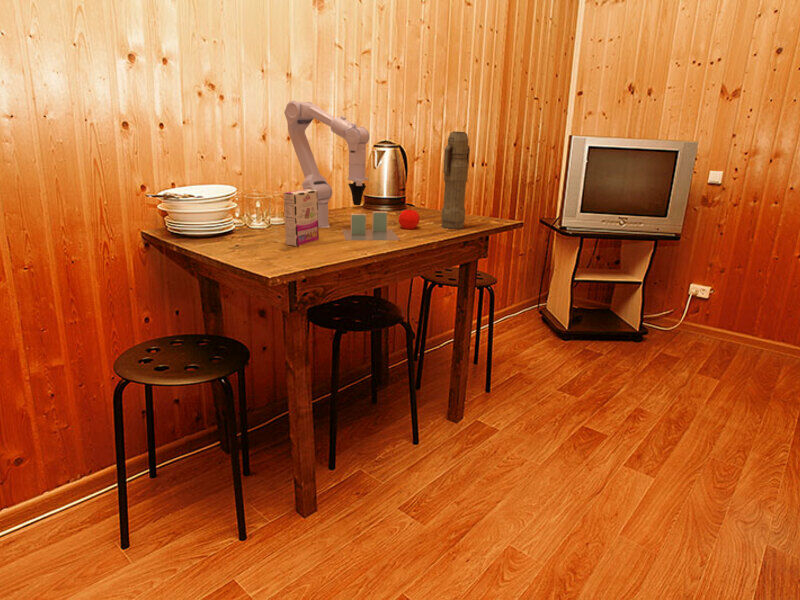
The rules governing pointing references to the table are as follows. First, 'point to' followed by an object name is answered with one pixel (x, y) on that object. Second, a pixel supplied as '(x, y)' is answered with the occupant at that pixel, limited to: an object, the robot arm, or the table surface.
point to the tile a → (358, 224)
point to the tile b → (379, 222)
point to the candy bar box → (301, 217)
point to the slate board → (371, 235)
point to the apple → (409, 219)
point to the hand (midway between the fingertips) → (356, 204)
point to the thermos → (455, 180)
